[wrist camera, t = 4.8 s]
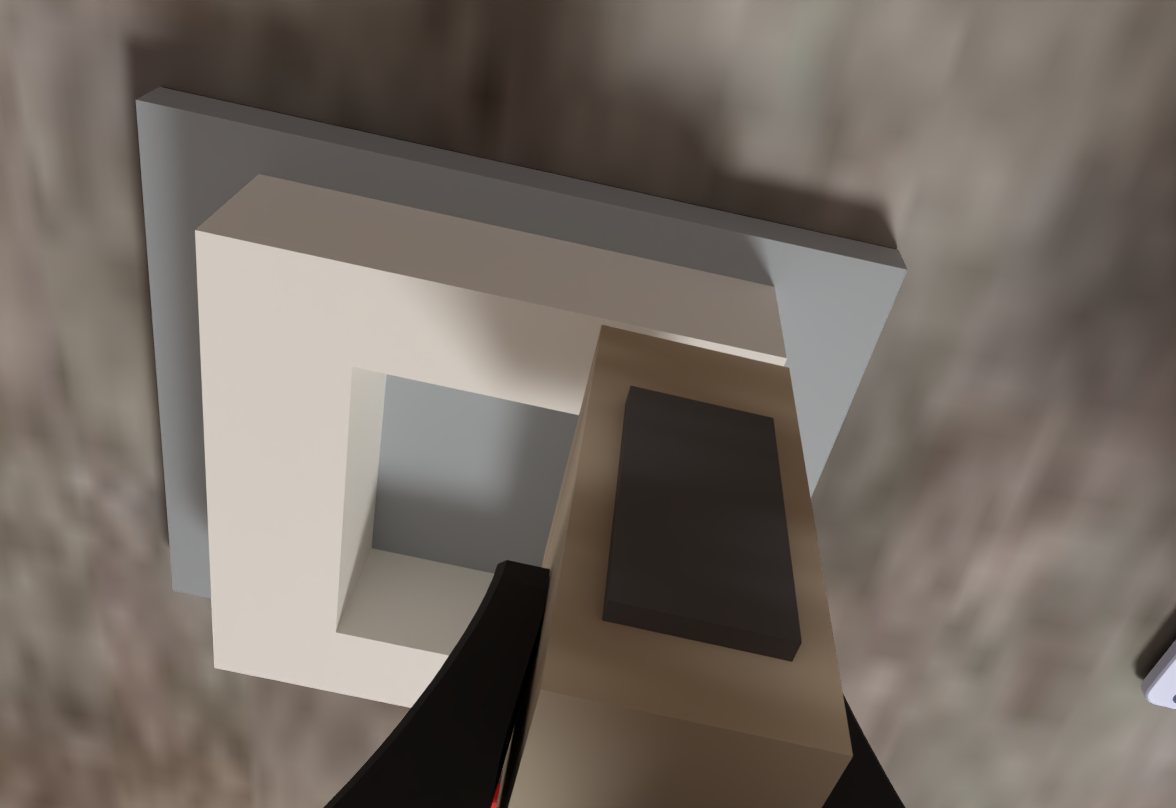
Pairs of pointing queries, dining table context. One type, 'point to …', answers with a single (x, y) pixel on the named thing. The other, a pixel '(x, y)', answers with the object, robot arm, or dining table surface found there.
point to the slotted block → (424, 367)
